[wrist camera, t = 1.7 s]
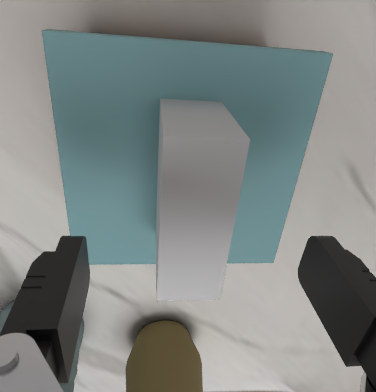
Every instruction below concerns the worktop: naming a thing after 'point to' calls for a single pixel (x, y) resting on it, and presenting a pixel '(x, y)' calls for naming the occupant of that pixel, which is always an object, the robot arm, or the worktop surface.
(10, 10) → the worktop surface
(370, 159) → the worktop surface
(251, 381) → the worktop surface
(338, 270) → the robot arm
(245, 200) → the lid
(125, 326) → the worktop surface
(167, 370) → the squeeze bottle
